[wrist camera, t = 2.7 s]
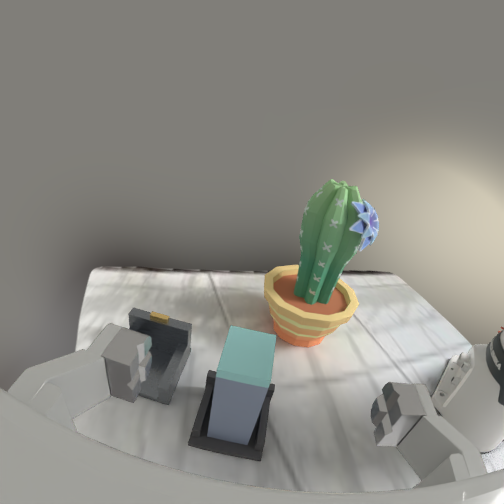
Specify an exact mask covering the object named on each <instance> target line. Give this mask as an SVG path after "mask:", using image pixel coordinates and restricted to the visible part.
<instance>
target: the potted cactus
mask: <svg viewBox="0 0 504 504" xmlns="http://www.w3.org/2000/svg"><path fill="white" fill-rule="evenodd" d="M362 201H363V204H364V205H363V204H362ZM362 201H361V197H360V194H359V191H358V188H357V186H348V185H347V183H346V182H345V181H341V182H340V183H337V182H335V181H334V180H332V179H331V180H330V181H328V182H327V183H326V184H325V185H324V186H323V187H321V188H320V189H319V190H318V191H317V192H316V193H315V194H314V195H313V196H312V197H311V199H310V200H309V201H308V203H307V206H306V208H305V210H304V215H303V220H302V226H301V231H300V246H301V259H300V264H299V265H289V266H280V267H276V268H274V269H273V270H272V271H270V272H269V273H267V274H266V275H265V282H264V297H265V298H266V300H267V301H268V302H269V309H270V314H271V316H272V317H273V319H274V331H275V332H276V333H277V334H278V336H279V337H280V338H281V339H282V340H284V341H286V342H288V343H290V344H292V345H294V346H301V347H311V346H314V345H318V344H320V342H321V341H322V340H323V338H324V337H325V336H326V335H329V334H331V333H333V332H334V331H335V330H336V329H337V328H338V327H339V326H340V325H341V324H344V323H347V322H348V321H349V319H350V318H351V317H352V315H353V313H354V312H355V310H356V308H357V307H358V305H359V303H358V300H357V298H356V295H355V293H354V290H353V289H352V288H350V287H349V286H348V285H347V284H346V283H345V282H343V281H342V280H341V279H340V275H341V273H342V271H343V269H344V267H345V265H346V264H347V263H348V262H349V261H350V260H351V258H352V257H353V256H354V255H355V254H356V252H357V250H359V251H362V250H363V249H364V248H365V247H366V246H367V245H368V244H369V245H371V244H372V243H373V241H374V240H375V238H376V236H377V232H378V230H379V221H378V216H377V213H376V211H375V209H374V208H373V207H372V206H371V205H370V204H369V203H367V202H366V201H365V200H364V199H362ZM362 238H363V239H362ZM361 240H362V241H361ZM360 242H361V243H360ZM359 245H360V246H359ZM358 247H359V249H358Z"/></svg>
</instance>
